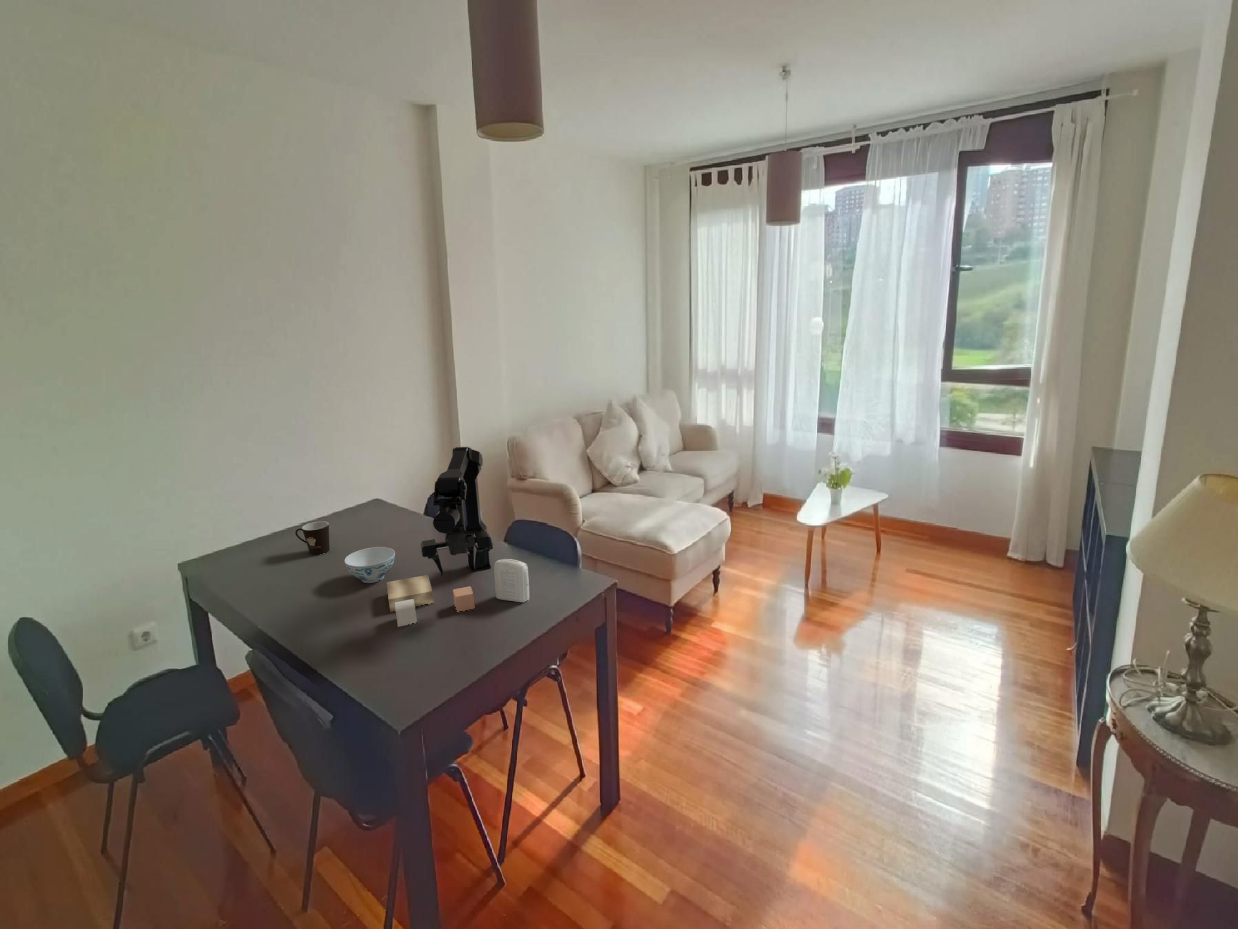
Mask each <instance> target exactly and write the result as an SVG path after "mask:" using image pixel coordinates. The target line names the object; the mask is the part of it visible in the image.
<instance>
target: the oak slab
mask: <svg viewBox="0 0 1238 929" xmlns="http://www.w3.org/2000/svg"><path fill="white" fill-rule="evenodd" d="M386 588H387V595H388V596H387V598H388V606H389V612H390V613H392V612H393V611H394V612H396V609H395V602H400V601H405V600H410V599H414V604H415V606H418V607H422V606H421V605H423V606H425V605H424V604H428V605H432V604H431V603H433V604H434V603H435V602H434V596H433V595H434V594H433V590H432V584H431V581H430V578H429V574H425V575H420V576H414V577H408V578H404V579H402V578H401V579H397V580H392V581H391V580H390V581H387V582H386Z"/></svg>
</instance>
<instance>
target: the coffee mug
mask: <svg viewBox="0 0 1238 929" xmlns="http://www.w3.org/2000/svg"><path fill="white" fill-rule="evenodd" d="M298 531H302V533H303V536H304V539H303V538H301V536H300V535H299V534H298ZM294 534H295V536H296V537H297V538H298V539H299V540H300V541H302V542H303V543H305V544H306V546H307V549H308V552H309V555H310V554H311V555H310V556H314V555H316V556H321V555H320V554H322V555H324V554H323V553H325V554H327V553H329V552H330V550H329V549H330V523H329V522H328V521H325V520H322V521H313V522H309V523H306V524H304V525H303V526H302V527H301V528H297V529H295V532H294ZM328 551H329V552H328Z"/></svg>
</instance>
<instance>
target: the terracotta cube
mask: <svg viewBox="0 0 1238 929" xmlns="http://www.w3.org/2000/svg"><path fill="white" fill-rule="evenodd" d="M452 592H453V593H452V594H453V602H454V607H456V608H455V611H456V610H457V611H456V613H457V612H458V613H460V612H459V611H463V612H466V611H465V610H468V609H472V608H475V609H476V607H475V596H474V592H473V588H472V587H471V585H469V586H464V587H459V588H455V589H452ZM468 611H469V610H468Z"/></svg>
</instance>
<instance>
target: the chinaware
mask: <svg viewBox="0 0 1238 929" xmlns="http://www.w3.org/2000/svg"><path fill="white" fill-rule="evenodd" d="M395 557H396V552H395V550H394V549H393V548H390V547H387V546H375V547H374V546H373V547H368V548H363V549H360V550H359V549H358V550H357V551H353V552H352V553H350V554H349V555H347V556H346V557H345V559H344V562H343V563H344V565H345V566H346V569H347V570H348V572H349V573H350V574H351V575H352V576H354V577H355V578H357V579H360V580H361V582H363V583H366V584H371V583H373V584H374V583H377V582H380V581H382V580H383V579H384V578H385V575H387V573H389V571H390V570H391V568H392V567H393V565H394V562H395V559H396V558H395ZM379 580H380V581H379Z"/></svg>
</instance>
